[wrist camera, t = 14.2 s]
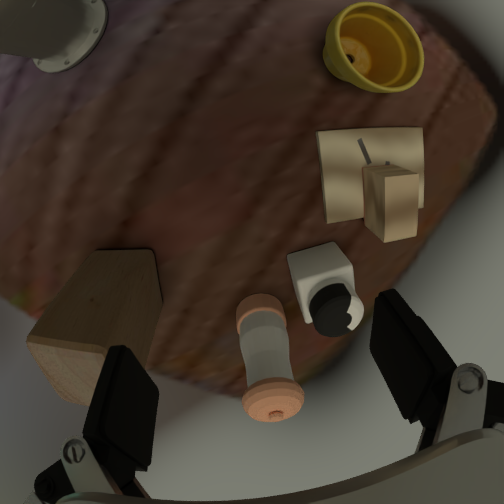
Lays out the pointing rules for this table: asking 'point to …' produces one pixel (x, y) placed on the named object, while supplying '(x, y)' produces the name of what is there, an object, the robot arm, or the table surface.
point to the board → (363, 164)
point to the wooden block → (97, 320)
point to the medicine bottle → (326, 289)
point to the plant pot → (373, 48)
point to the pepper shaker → (267, 360)
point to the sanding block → (390, 201)
